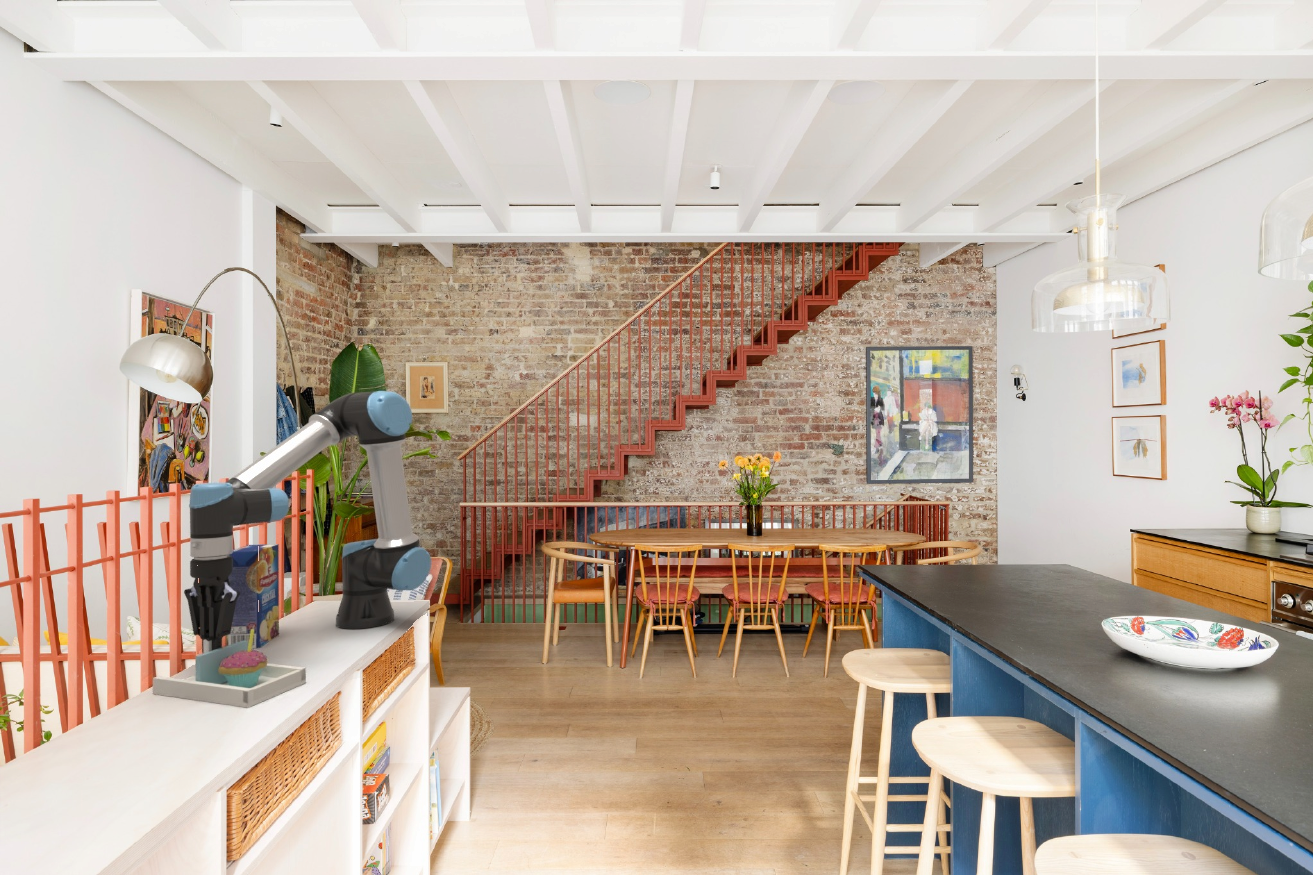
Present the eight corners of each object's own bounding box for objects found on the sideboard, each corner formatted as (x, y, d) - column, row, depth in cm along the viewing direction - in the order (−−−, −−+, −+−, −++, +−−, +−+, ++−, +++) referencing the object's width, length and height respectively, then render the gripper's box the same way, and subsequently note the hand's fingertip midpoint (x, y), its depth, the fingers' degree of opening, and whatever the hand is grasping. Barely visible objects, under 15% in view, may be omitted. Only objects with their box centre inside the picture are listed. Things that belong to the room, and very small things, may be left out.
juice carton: (258, 648, 169) (258, 551, 170) (226, 649, 169) (225, 552, 169) (279, 634, 181) (278, 544, 181) (249, 636, 180) (248, 544, 181)
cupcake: (253, 676, 147) (253, 620, 147) (275, 683, 142) (275, 625, 142) (210, 688, 139) (210, 629, 139) (232, 696, 135) (232, 635, 135)
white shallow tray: (216, 671, 152) (215, 657, 152) (305, 682, 145) (305, 667, 145) (152, 693, 139) (152, 678, 139) (248, 707, 131) (247, 690, 131)
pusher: (229, 671, 149) (229, 639, 149) (247, 674, 148) (247, 640, 148) (181, 689, 139) (181, 654, 139) (200, 692, 137) (199, 656, 137)
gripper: (171, 558, 142) (171, 672, 142) (218, 561, 138) (219, 678, 138) (205, 552, 149) (205, 661, 149) (251, 555, 145) (251, 666, 145)
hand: (212, 669), depth 143 cm, fingers closed
